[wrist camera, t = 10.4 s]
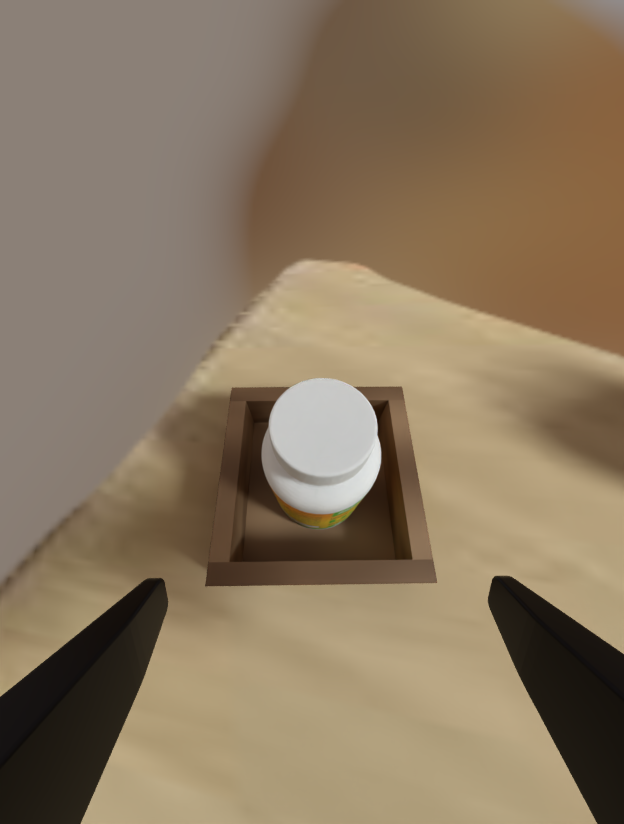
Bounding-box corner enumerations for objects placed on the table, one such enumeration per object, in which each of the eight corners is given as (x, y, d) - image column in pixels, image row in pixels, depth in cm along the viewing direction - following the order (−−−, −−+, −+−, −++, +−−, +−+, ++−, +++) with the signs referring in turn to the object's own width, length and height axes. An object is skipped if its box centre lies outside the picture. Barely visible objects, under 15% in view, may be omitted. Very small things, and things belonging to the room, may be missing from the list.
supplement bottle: (333, 548, 17) (354, 533, 9) (260, 500, 19) (216, 445, 10) (373, 473, 20) (422, 401, 11) (304, 434, 21) (300, 342, 12)
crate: (411, 578, 17) (437, 583, 14) (226, 581, 17) (205, 586, 14) (387, 414, 22) (401, 386, 19) (244, 415, 22) (231, 387, 19)
